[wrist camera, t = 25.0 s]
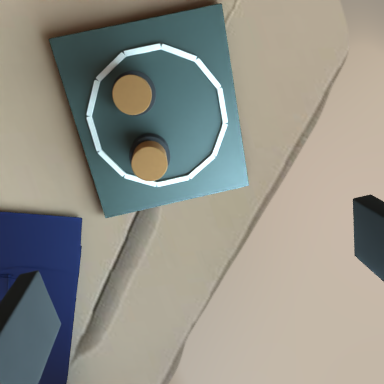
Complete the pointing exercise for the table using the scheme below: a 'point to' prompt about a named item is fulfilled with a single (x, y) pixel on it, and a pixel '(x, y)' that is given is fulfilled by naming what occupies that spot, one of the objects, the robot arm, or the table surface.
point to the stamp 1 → (133, 93)
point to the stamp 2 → (149, 157)
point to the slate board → (156, 106)
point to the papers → (45, 272)
